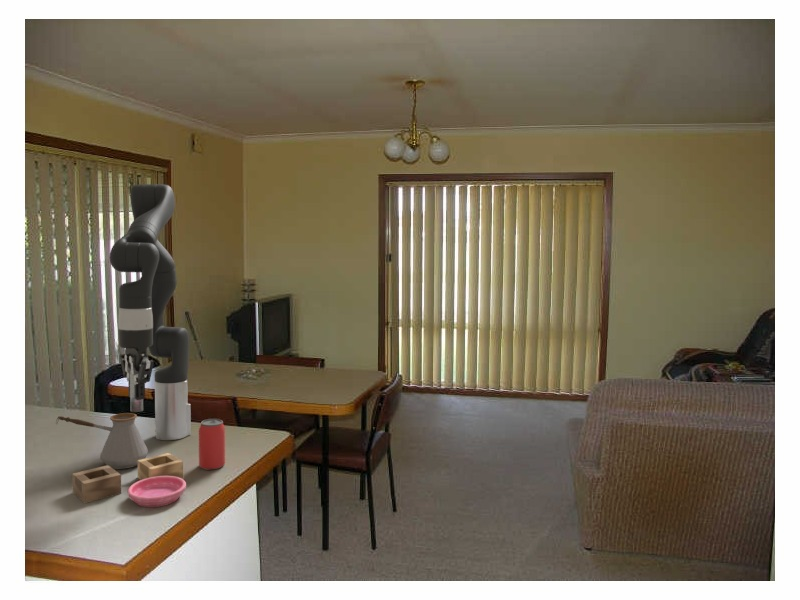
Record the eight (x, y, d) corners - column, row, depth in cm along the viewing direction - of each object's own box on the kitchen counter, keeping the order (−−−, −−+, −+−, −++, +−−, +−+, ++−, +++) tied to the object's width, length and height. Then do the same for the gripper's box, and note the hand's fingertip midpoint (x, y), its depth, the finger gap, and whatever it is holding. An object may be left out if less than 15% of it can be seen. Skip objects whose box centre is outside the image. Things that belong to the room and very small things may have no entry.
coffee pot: (143, 453, 168) (142, 400, 166) (151, 466, 158) (151, 411, 157) (55, 467, 156) (53, 410, 154) (58, 482, 146) (57, 422, 145)
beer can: (230, 463, 162) (229, 420, 160) (214, 472, 155) (214, 427, 154) (209, 459, 164) (209, 417, 162) (193, 468, 158) (193, 423, 156)
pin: (140, 408, 147) (139, 367, 146) (145, 410, 145) (144, 369, 144) (128, 410, 145) (127, 369, 144) (133, 412, 143) (132, 371, 142)
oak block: (168, 469, 156) (168, 452, 156) (183, 478, 151) (183, 461, 150) (137, 477, 150) (137, 460, 150) (151, 487, 145) (151, 469, 145)
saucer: (168, 513, 132) (167, 499, 132) (116, 508, 134) (116, 494, 134) (195, 490, 144) (195, 477, 144) (148, 485, 146) (148, 473, 146)
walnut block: (108, 482, 147) (107, 465, 146) (121, 493, 141) (120, 474, 141) (72, 492, 141) (72, 473, 141) (84, 503, 136) (84, 483, 135)
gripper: (164, 328, 141) (165, 400, 143) (138, 322, 151) (139, 390, 152) (132, 331, 136) (133, 406, 137) (107, 324, 145) (108, 395, 147)
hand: (136, 397), depth 145 cm, fingers closed on pin, 2 cm apart
